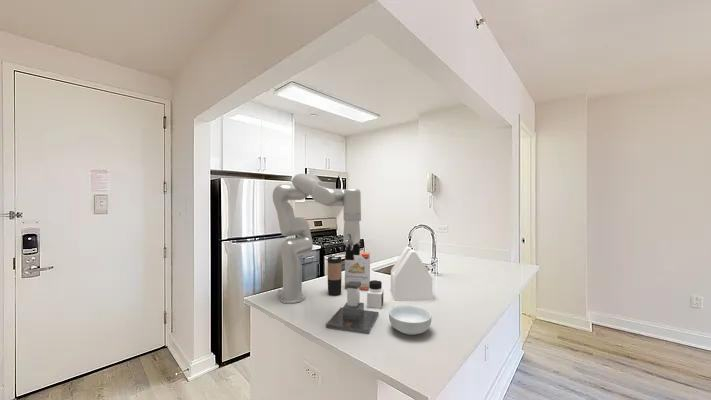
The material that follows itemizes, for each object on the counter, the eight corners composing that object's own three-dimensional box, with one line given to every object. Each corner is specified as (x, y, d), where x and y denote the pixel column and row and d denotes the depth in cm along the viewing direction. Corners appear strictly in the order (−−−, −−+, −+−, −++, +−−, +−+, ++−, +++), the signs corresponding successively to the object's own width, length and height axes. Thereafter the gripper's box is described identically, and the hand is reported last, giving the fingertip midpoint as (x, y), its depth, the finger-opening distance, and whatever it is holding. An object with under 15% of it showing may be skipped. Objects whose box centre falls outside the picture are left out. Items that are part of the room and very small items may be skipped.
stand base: (325, 327, 114) (325, 310, 114) (341, 310, 132) (340, 295, 132) (368, 334, 109) (368, 316, 109) (378, 315, 126) (378, 299, 126)
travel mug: (330, 297, 149) (330, 259, 148) (325, 292, 156) (325, 256, 155) (343, 294, 152) (343, 258, 152) (338, 290, 159) (338, 255, 159)
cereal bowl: (423, 345, 101) (423, 326, 101) (381, 333, 110) (381, 315, 109) (436, 327, 115) (436, 309, 115) (399, 317, 124) (399, 301, 124)
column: (345, 318, 119) (345, 285, 118) (349, 313, 124) (349, 281, 123) (357, 320, 117) (357, 286, 117) (361, 314, 122) (361, 282, 122)
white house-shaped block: (424, 290, 160) (424, 246, 159) (432, 300, 144) (432, 252, 144) (390, 290, 159) (390, 246, 159) (395, 300, 144) (395, 252, 143)
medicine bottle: (381, 308, 134) (381, 283, 134) (367, 307, 135) (367, 282, 135) (383, 303, 141) (383, 279, 141) (369, 301, 142) (369, 278, 142)
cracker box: (344, 289, 161) (344, 253, 161) (346, 286, 167) (346, 251, 166) (368, 290, 159) (368, 254, 158) (370, 287, 165) (370, 251, 164)
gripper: (350, 216, 130) (350, 253, 130) (337, 219, 113) (337, 261, 113) (365, 216, 128) (366, 253, 128) (354, 219, 111) (355, 262, 111)
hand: (353, 257), depth 121 cm, fingers open, 9 cm apart
